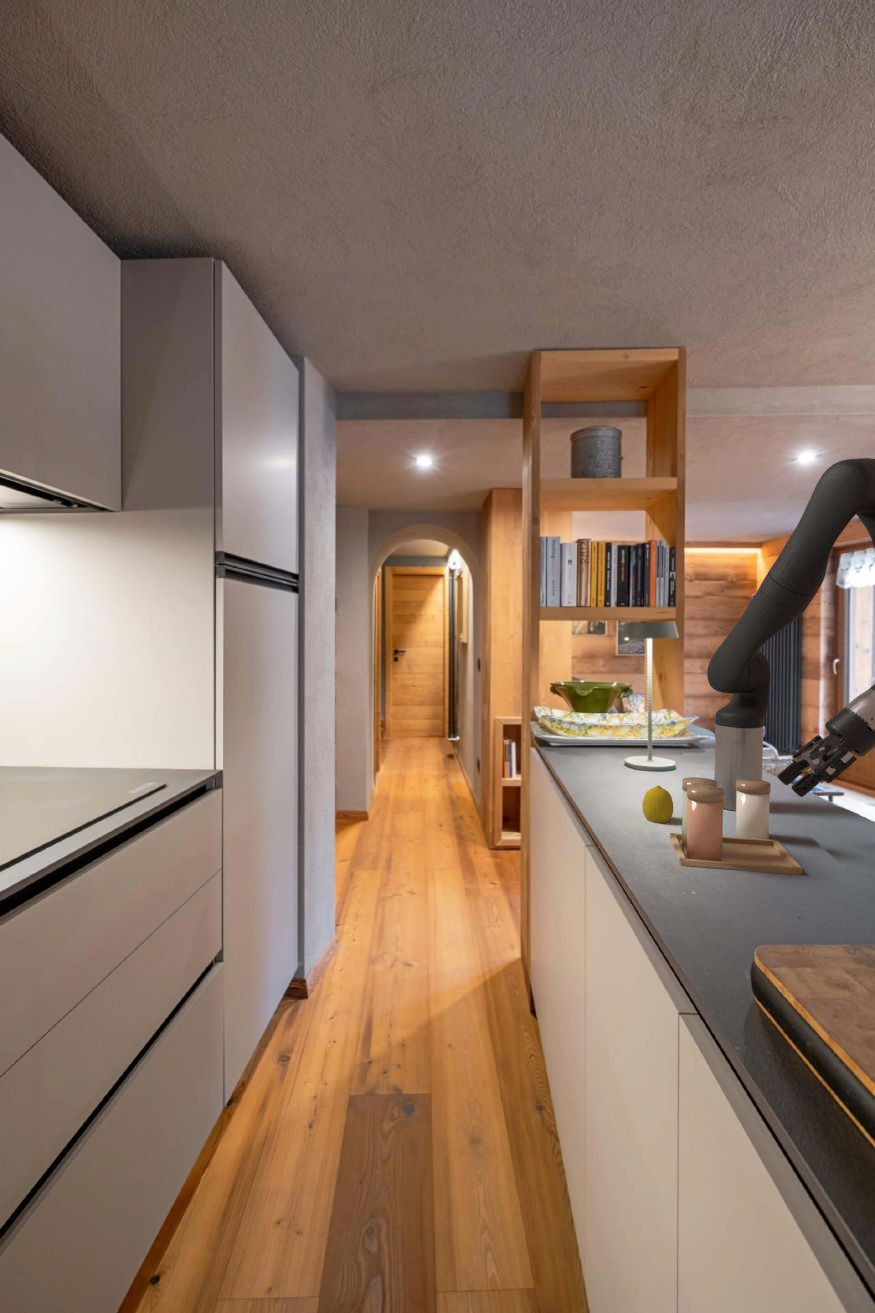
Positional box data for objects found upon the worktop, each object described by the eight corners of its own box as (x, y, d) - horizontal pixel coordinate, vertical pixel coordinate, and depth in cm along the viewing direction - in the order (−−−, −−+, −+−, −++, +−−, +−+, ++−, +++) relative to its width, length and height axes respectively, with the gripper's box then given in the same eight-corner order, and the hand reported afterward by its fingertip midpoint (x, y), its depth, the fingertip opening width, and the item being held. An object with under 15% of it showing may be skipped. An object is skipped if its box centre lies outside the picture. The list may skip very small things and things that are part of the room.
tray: (669, 846, 116) (670, 833, 116) (776, 853, 113) (777, 840, 113) (680, 875, 103) (680, 860, 103) (802, 884, 99) (803, 869, 99)
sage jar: (679, 840, 115) (680, 776, 114) (712, 843, 113) (714, 778, 113) (683, 851, 109) (684, 783, 109) (719, 853, 108) (720, 785, 108)
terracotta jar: (683, 851, 109) (684, 783, 109) (719, 854, 108) (720, 785, 108) (688, 862, 104) (689, 791, 103) (725, 865, 103) (727, 793, 102)
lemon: (675, 832, 124) (675, 789, 124) (643, 831, 125) (644, 788, 125) (670, 824, 130) (671, 783, 129) (640, 822, 131) (641, 781, 130)
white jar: (732, 839, 120) (733, 778, 120) (764, 841, 119) (766, 779, 119) (738, 848, 115) (739, 784, 115) (772, 851, 114) (774, 786, 114)
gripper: (832, 701, 120) (761, 762, 123) (864, 711, 106) (783, 779, 109) (864, 732, 119) (792, 793, 122) (901, 746, 105) (818, 814, 108)
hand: (788, 786), depth 116 cm, fingers open, 8 cm apart
